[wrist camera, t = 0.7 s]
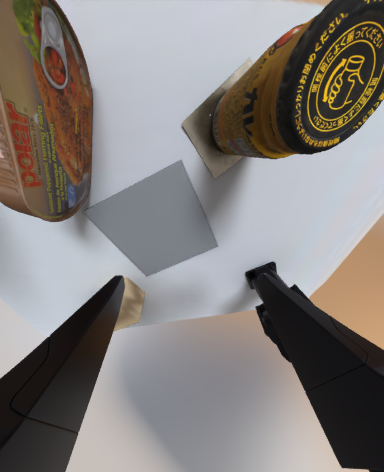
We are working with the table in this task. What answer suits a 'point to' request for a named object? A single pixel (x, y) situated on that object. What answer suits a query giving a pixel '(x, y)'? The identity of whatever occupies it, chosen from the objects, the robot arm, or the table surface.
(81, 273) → the table surface
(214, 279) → the table surface
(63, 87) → the tin
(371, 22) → the condiment
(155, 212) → the slate mat
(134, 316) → the oak cube
